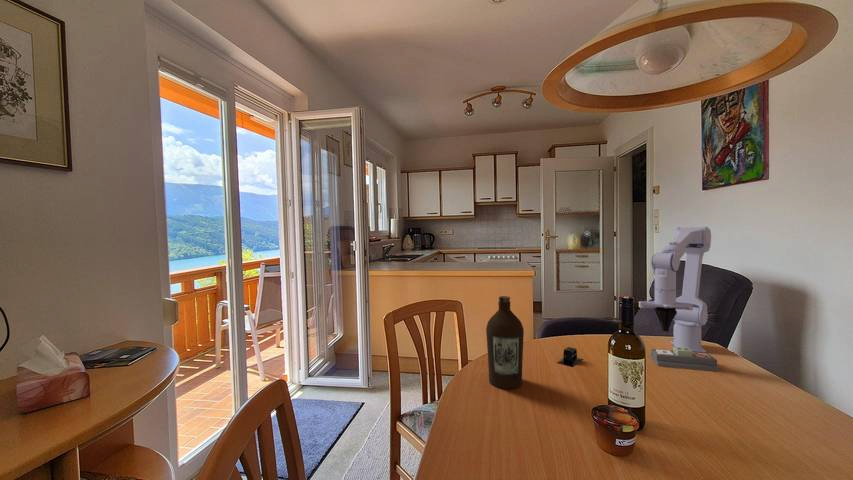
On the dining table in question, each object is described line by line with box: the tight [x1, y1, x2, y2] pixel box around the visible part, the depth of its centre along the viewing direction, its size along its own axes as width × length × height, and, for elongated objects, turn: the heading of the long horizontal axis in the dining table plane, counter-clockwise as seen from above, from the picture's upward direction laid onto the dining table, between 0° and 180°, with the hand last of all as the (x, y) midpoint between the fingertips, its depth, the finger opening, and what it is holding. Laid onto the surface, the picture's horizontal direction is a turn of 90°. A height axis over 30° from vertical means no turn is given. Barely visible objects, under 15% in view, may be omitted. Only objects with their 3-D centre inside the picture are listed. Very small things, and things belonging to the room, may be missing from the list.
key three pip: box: [692, 351, 712, 359], centre depth 109 cm, size 4×4×2 cm
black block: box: [556, 346, 585, 368], centre depth 115 cm, size 12×7×5 cm, turn 135°
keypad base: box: [649, 348, 720, 372], centre depth 111 cm, size 8×16×3 cm, turn 72°
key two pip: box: [672, 345, 694, 357], centre depth 111 cm, size 4×4×2 cm
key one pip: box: [656, 349, 674, 356], centre depth 112 cm, size 4×4×2 cm
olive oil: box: [485, 295, 525, 390], centre depth 100 cm, size 11×11×25 cm
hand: (664, 330), depth 112 cm, fingers closed
